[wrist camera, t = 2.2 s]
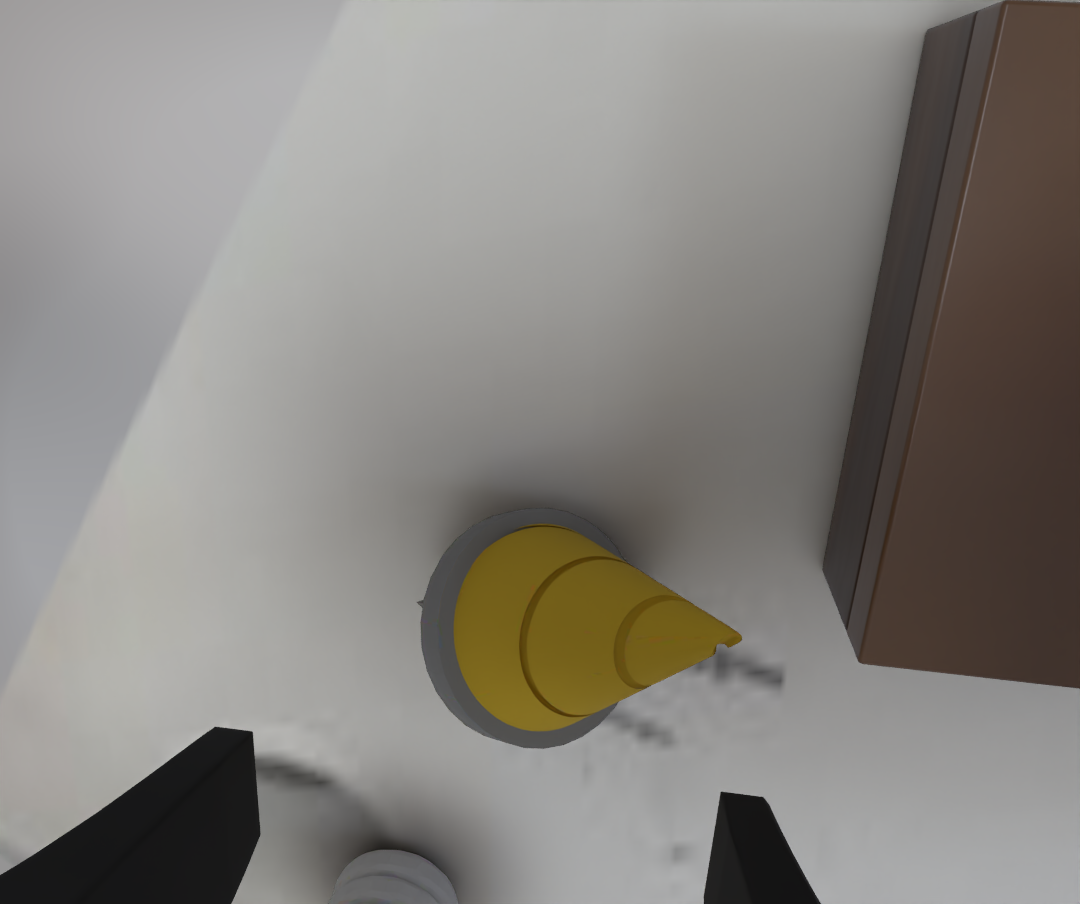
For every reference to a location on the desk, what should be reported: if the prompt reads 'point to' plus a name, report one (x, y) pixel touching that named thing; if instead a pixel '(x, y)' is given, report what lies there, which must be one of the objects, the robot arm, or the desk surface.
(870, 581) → the desk riser
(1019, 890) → the desk surface
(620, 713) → the desk surface
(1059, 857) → the desk surface
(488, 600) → the yellow stepped cone
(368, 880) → the light bulb
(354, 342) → the desk surface
